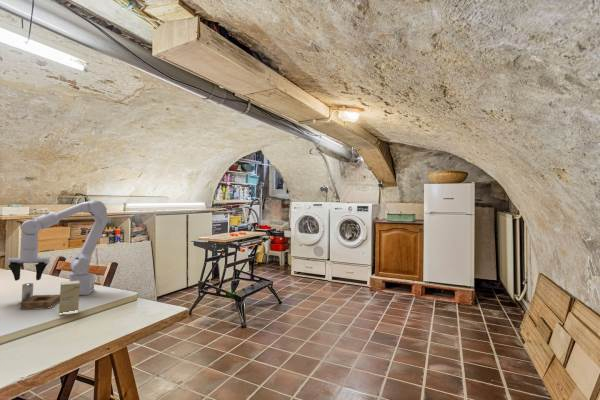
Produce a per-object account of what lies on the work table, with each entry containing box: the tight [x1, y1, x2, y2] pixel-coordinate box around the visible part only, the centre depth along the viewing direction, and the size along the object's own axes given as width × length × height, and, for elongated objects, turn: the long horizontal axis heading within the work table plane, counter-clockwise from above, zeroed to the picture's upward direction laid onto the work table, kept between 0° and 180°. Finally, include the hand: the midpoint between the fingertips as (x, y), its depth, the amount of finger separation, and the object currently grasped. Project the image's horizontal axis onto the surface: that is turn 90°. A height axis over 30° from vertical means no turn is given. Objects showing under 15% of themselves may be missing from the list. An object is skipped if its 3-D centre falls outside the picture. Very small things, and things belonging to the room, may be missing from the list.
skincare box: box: [58, 280, 80, 314], centre depth 127 cm, size 6×4×12 cm
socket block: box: [20, 294, 60, 310], centre depth 134 cm, size 10×10×2 cm
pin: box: [21, 282, 34, 303], centre depth 137 cm, size 4×4×7 cm
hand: (27, 279), depth 137 cm, fingers open, 7 cm apart
